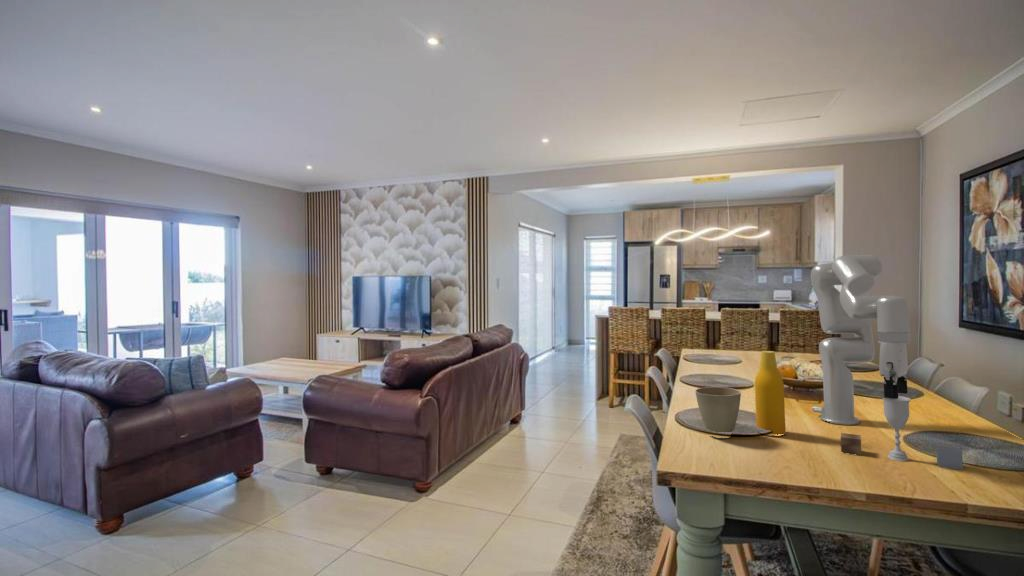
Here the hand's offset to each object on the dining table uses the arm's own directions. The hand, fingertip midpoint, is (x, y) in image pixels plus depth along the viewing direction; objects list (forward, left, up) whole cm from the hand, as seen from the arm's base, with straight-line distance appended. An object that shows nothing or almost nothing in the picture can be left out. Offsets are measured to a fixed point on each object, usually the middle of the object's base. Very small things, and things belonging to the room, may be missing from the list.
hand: (896, 395), depth 143 cm
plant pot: (-47, -16, -19) cm, 53 cm away
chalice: (0, 0, -19) cm, 19 cm away
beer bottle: (-36, 0, -19) cm, 41 cm away
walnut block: (-11, -3, -19) cm, 22 cm away
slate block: (+11, +3, -19) cm, 22 cm away
